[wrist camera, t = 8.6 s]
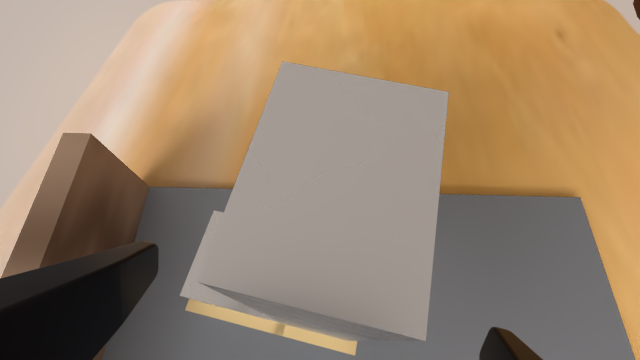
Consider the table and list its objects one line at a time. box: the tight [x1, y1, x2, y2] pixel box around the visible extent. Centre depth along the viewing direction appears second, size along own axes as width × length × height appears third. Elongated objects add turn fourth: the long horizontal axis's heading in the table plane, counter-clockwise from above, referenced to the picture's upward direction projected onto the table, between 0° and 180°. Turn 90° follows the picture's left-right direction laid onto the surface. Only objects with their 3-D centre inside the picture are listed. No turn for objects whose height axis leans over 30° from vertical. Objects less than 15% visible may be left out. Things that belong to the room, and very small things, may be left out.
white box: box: [180, 61, 449, 341], centre depth 11 cm, size 8×4×13 cm, turn 76°
